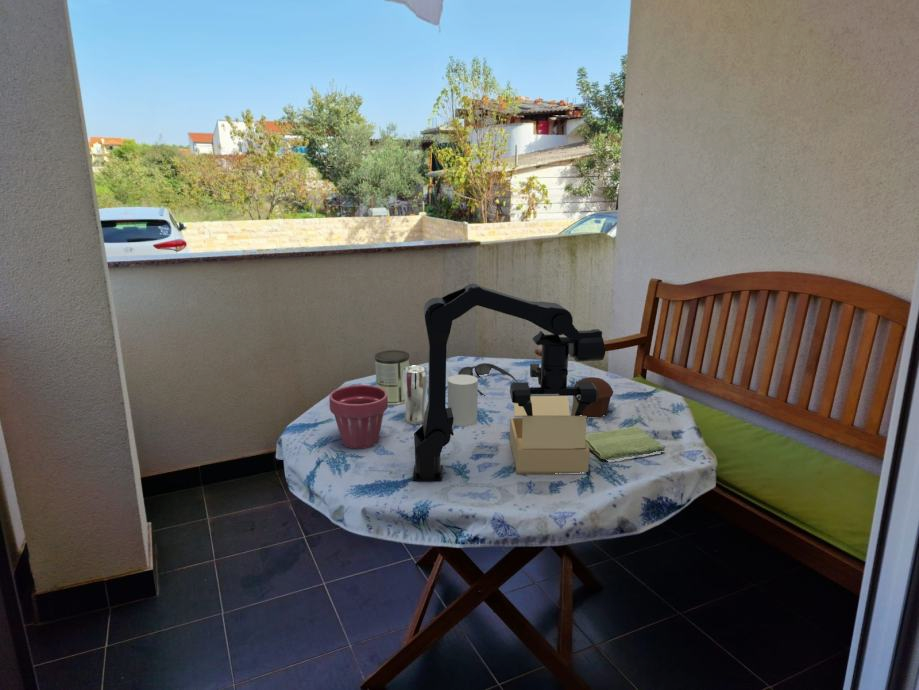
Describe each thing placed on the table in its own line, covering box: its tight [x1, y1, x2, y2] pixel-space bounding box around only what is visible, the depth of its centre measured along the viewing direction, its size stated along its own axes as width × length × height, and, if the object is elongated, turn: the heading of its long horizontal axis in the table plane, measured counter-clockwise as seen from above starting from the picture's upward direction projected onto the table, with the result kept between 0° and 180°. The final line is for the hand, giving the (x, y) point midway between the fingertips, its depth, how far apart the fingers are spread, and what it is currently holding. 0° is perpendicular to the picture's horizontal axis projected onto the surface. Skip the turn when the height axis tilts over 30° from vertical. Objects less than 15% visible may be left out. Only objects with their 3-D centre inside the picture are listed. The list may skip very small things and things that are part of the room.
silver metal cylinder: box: [402, 364, 428, 426], centre depth 151 cm, size 7×7×15 cm
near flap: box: [521, 415, 587, 448], centre depth 122 cm, size 7×14×1 cm
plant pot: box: [329, 384, 389, 450], centre depth 139 cm, size 14×14×13 cm
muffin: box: [573, 376, 614, 418], centre depth 158 cm, size 12×11×10 cm
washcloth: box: [585, 425, 666, 460], centre depth 137 cm, size 13×18×3 cm
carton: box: [509, 417, 591, 475], centre depth 132 cm, size 18×16×6 cm
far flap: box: [513, 396, 571, 418], centre depth 141 cm, size 7×14×1 cm
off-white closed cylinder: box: [447, 374, 479, 427], centre depth 152 cm, size 8×8×12 cm
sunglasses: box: [457, 362, 518, 397], centre depth 181 cm, size 16×17×5 cm
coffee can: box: [374, 349, 410, 406], centre depth 167 cm, size 10×10×14 cm
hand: (551, 426), depth 125 cm, fingers open, 9 cm apart
